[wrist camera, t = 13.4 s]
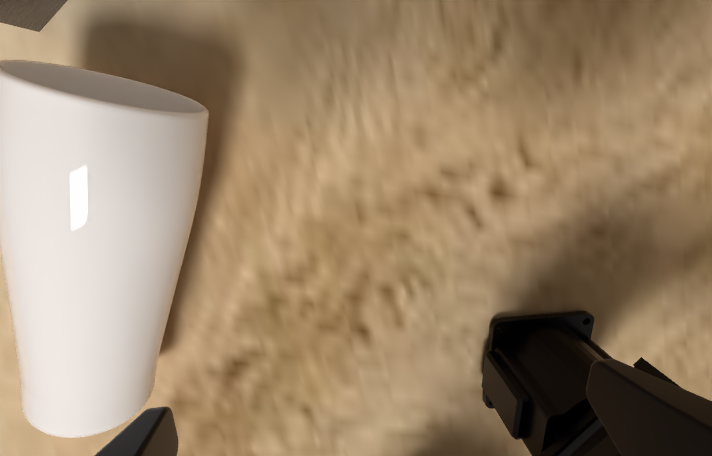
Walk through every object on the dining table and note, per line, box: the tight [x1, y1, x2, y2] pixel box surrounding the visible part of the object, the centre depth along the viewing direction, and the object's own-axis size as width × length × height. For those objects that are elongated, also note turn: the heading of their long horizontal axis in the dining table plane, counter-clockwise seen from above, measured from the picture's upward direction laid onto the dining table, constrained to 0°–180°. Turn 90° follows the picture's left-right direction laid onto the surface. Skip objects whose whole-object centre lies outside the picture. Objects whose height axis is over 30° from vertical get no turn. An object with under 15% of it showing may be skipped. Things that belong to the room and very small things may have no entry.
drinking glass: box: [0, 60, 209, 438], centre depth 17 cm, size 7×7×15 cm
